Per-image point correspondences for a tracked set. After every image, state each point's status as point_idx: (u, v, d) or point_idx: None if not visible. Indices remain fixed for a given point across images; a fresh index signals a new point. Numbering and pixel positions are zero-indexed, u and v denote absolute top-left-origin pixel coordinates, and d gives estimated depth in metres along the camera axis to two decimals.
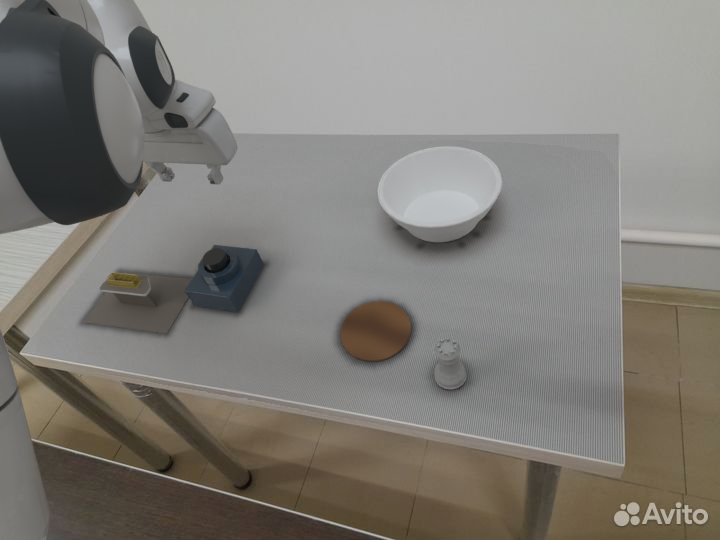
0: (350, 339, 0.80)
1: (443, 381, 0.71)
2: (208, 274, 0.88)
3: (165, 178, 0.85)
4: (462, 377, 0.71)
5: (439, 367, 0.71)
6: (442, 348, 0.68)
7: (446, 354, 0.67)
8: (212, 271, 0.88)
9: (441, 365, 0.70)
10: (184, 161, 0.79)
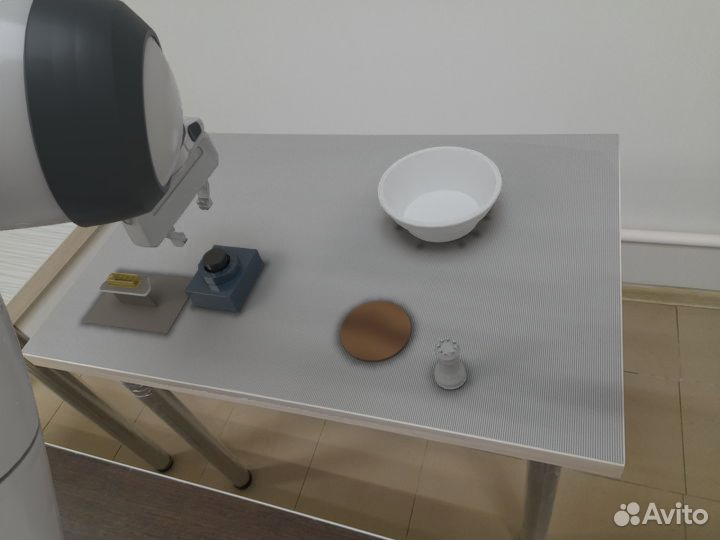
0: (350, 339, 0.80)
1: (443, 381, 0.71)
2: (208, 274, 0.88)
3: (184, 238, 0.79)
4: (462, 377, 0.71)
5: (439, 367, 0.71)
6: (442, 348, 0.68)
7: (446, 354, 0.67)
8: (212, 271, 0.88)
9: (441, 365, 0.70)
10: (197, 189, 0.79)
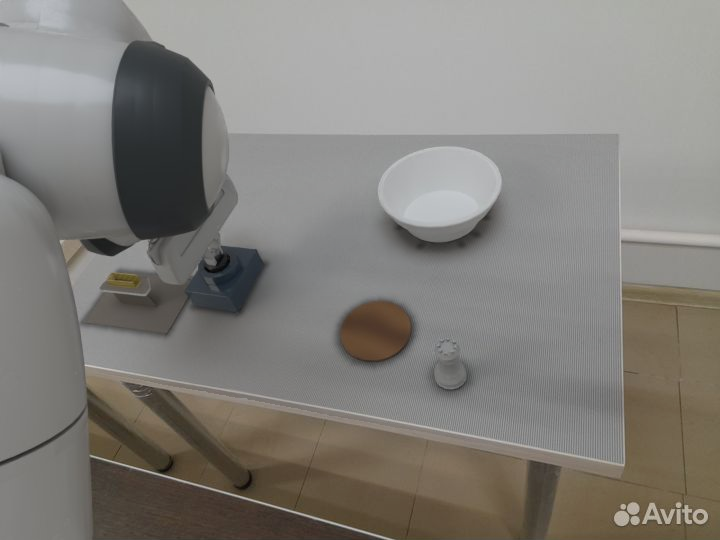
0: (350, 339, 0.80)
1: (443, 381, 0.71)
2: (208, 274, 0.88)
3: (217, 257, 0.87)
4: (462, 377, 0.71)
5: (439, 367, 0.71)
6: (442, 348, 0.68)
7: (446, 354, 0.67)
8: None
9: (441, 365, 0.70)
10: (219, 227, 0.85)
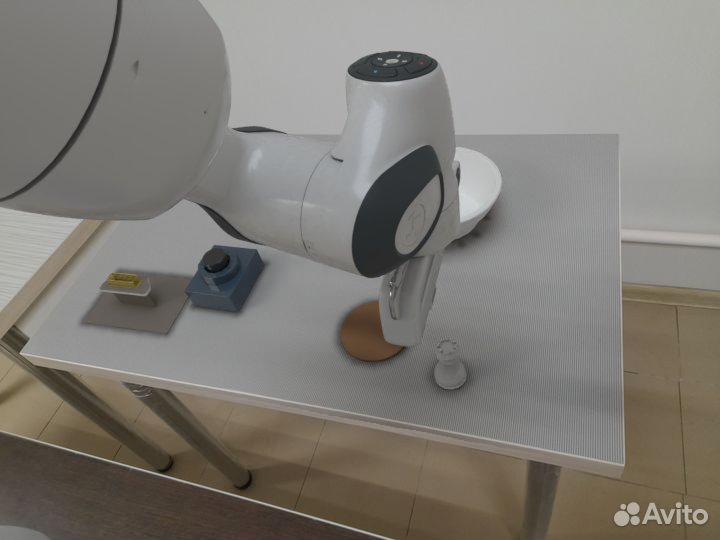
0: (350, 339, 0.80)
1: (443, 381, 0.71)
2: (208, 274, 0.88)
3: (433, 298, 0.60)
4: (462, 377, 0.71)
5: (439, 367, 0.71)
6: (442, 348, 0.68)
7: (446, 354, 0.67)
8: (212, 271, 0.88)
9: (441, 365, 0.70)
10: (442, 256, 0.58)
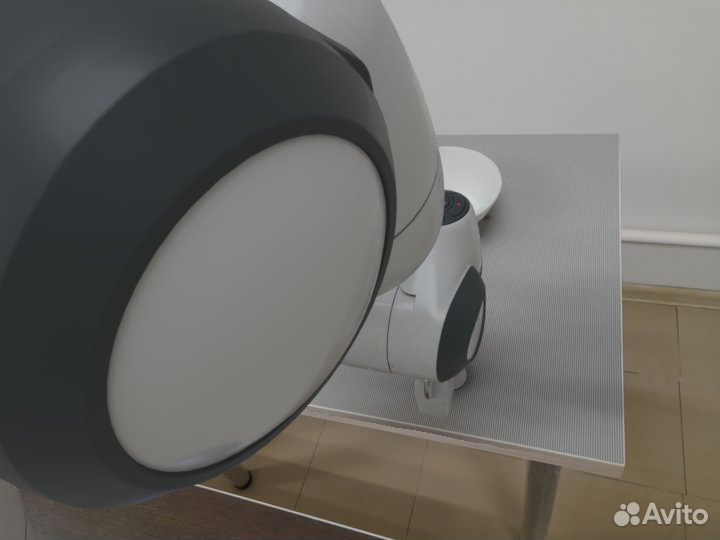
0: None
1: None
2: None
3: None
4: (462, 377, 0.71)
5: None
6: None
7: None
8: None
9: None
10: None
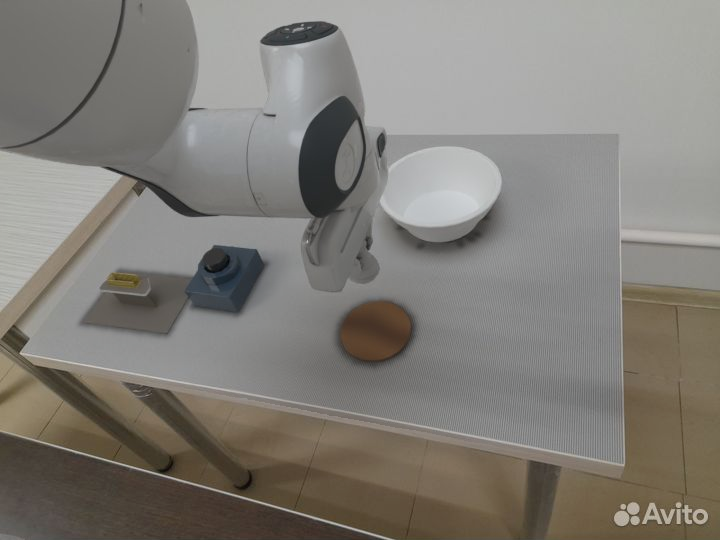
0: (350, 339, 0.80)
1: (353, 274, 0.67)
2: (208, 274, 0.88)
3: (362, 264, 0.65)
4: (373, 270, 0.67)
5: None
6: None
7: None
8: (212, 271, 0.88)
9: None
10: (372, 215, 0.64)
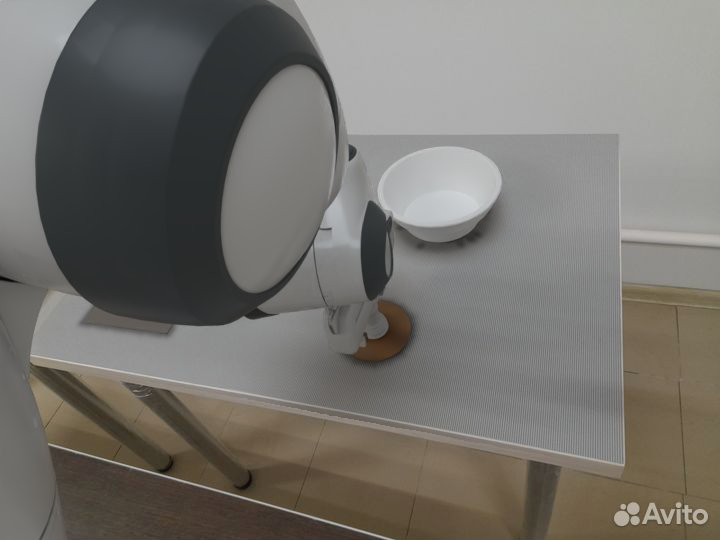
0: None
1: (366, 331, 0.78)
2: None
3: (367, 338, 0.74)
4: (383, 328, 0.78)
5: None
6: None
7: None
8: None
9: None
10: None
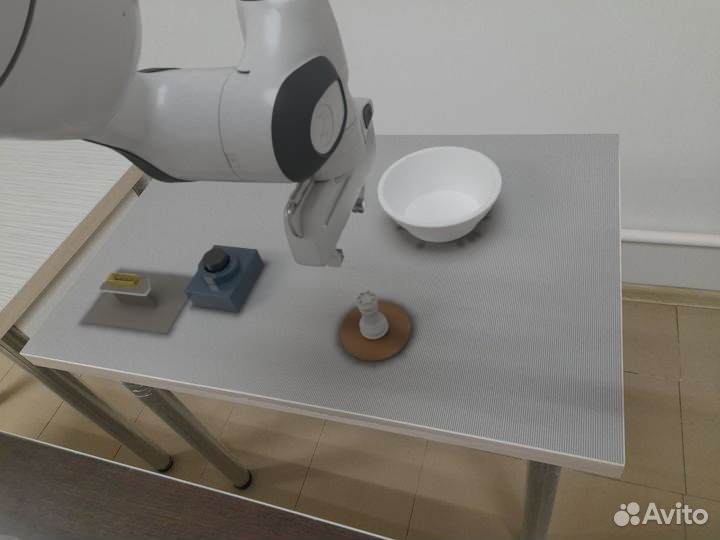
0: (350, 339, 0.80)
1: (366, 331, 0.78)
2: (208, 274, 0.88)
3: (342, 256, 0.62)
4: (383, 328, 0.78)
5: (362, 318, 0.78)
6: (361, 299, 0.75)
7: (364, 304, 0.74)
8: (212, 271, 0.88)
9: (363, 316, 0.77)
10: (359, 190, 0.62)
